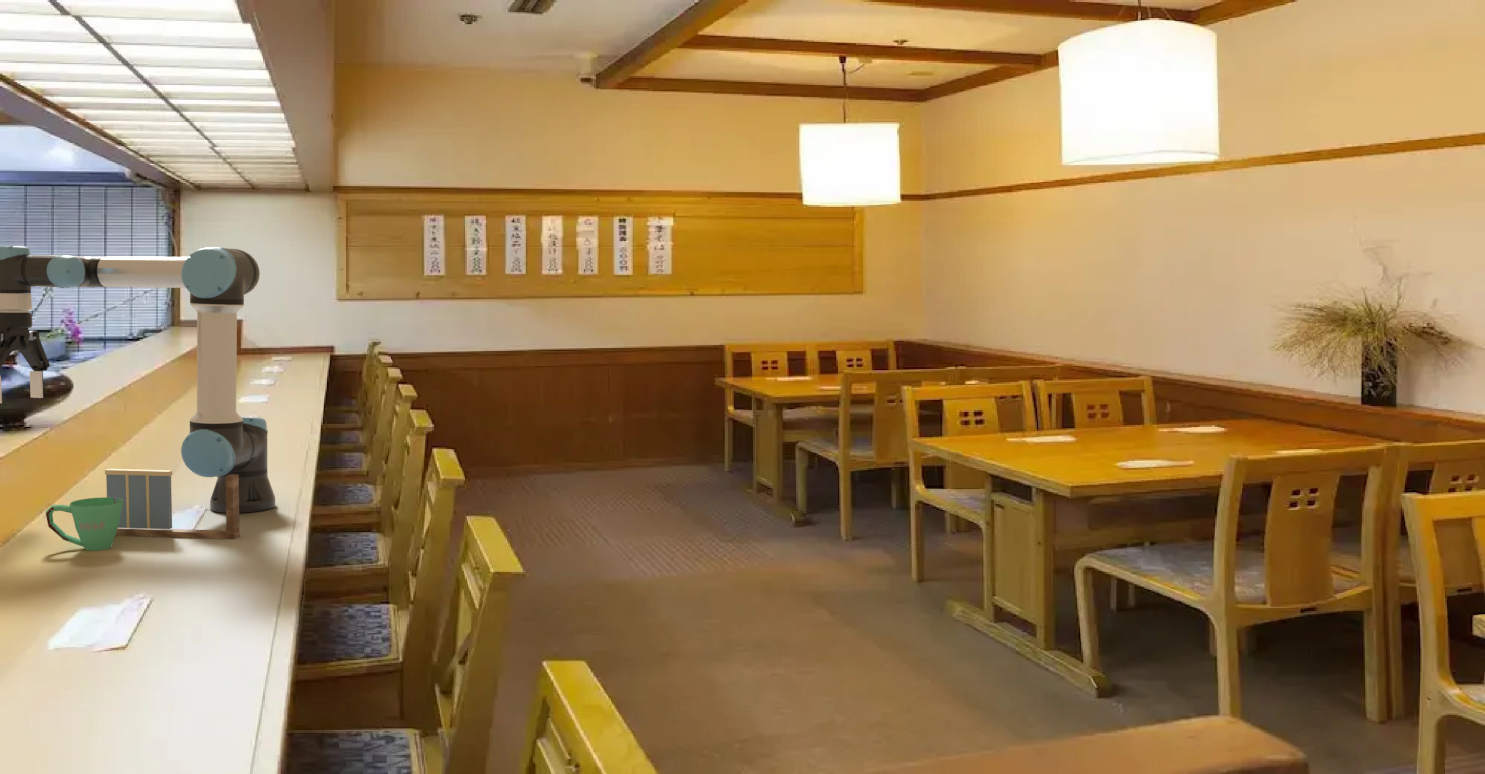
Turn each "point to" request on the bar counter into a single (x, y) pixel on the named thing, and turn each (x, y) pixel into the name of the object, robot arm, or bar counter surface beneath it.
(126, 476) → the panel
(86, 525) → the mug
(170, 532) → the brown wooden rack
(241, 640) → the bar counter surface
